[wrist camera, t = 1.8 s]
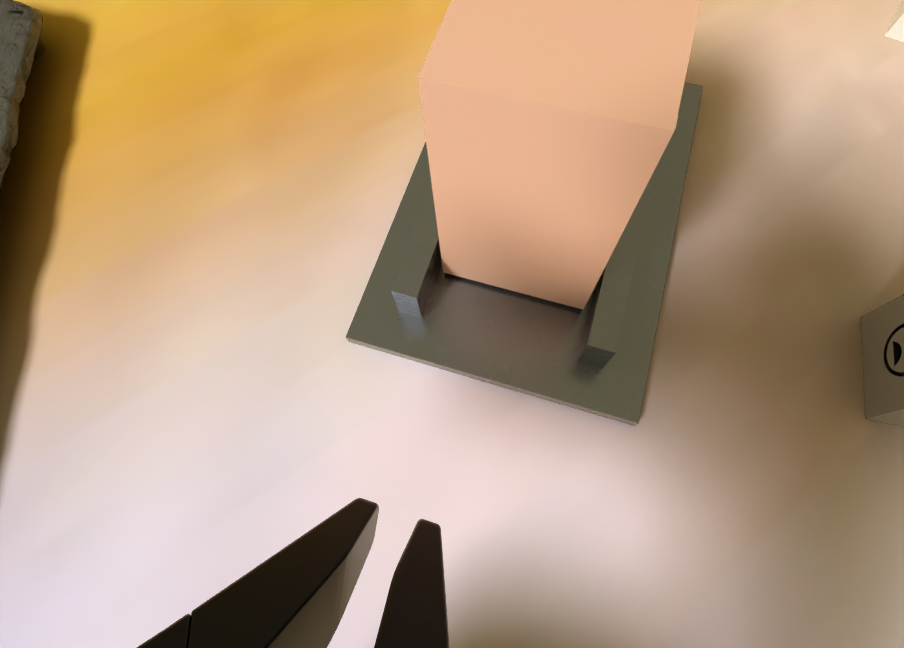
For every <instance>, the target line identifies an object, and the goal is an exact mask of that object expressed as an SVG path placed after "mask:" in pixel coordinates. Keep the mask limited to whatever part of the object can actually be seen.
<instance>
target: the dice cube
mask: <svg viewBox="0 0 904 648" xmlns="http://www.w3.org/2000/svg"><path fill="white" fill-rule="evenodd" d="M861 337H862V358H863V379H864V400H865V419H868V420H873V421H878V422H882V423H887V424H892V425H897V426H902V427H904V294H903V295H901V296H900V297H898V298H896V299H894V300H892V301H890V302H888V303H886V304H885V305H883V306H881V307H879V308H877V309H875V310H873V311H871V312H870V313H868V314H866V315H864V316H862V317H861Z"/></svg>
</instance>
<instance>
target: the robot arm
mask: <svg viewBox="0 0 904 648" xmlns="http://www.w3.org/2000/svg"><path fill="white" fill-rule="evenodd" d="M378 512H379V506H378V504H376V503H374V502H371V501H368V500H365V499H362V498H358V499H355V500H354V501H352V502H351V503H350V504H348V505H347V506H345V507H344V508H342V509H341V510H339V511H338V512H336V513H335V514H333V515H332V516H330V517H329V518H328V519H326V520H325V521H323V522H322V523H320V524H319V525H317V526H316V527H314V528H313V529H311V530H310V531H309V532H307V533H306V534H304V535H303V536H301V537H300V538H298V539H297V540H295V541H294V542H292V543H291V544H289V545H288V546H287V547H285V548H284V549H282V550H281V551H279V552H278V553H276V554H275V555H273V556H272V557H270V558H269V559H268V560H266V561H265V562H263V563H262V564H260V565H259V566H257V567H256V568H254V569H253V570H251V571H250V572H248V573H247V574H246V575H244V576H243V577H241V578H240V579H238V580H237V581H235V582H234V583H232V584H231V585H229V586H228V587H227V588H225V589H224V590H222V591H221V592H219V593H218V594H216V595H215V596H213V597H212V598H210V599H209V600H207V601H206V602H205V603H203V604H202V605H200V606H199V607H197V608H196V609H194V610H193V611H192V613H191V615H190V614H187V615H185V616H184V617H182V618H181V619H179V620H178V621H176V622H175V623H173V624H172V625H171V626H169V627H168V628H166V629H165V630H163V631H162V632H160V633H158V634H157V635H155V636H154V637H152V638H151V639H149V640H148V641H146V642H145V643H143V644H142V645H140V646H138V647H137V648H327V646H328V645H329V643H330V641H331V639H332V637H333V635H334V633H335V631H336V629H337V627H338V625H339V623H340V620H341V618H342V616H343V614H344V611H345V609H346V606H347V604H348V602H349V599H350V597H351V594H352V592H353V590H354V587H355V585H356V582H357V580H358V578H359V575H360V573H361V570H362V568H363V566H364V563H365V561H366V558H367V556H368V554H369V551H370V549H371V546H372V543H373V540H374V536H375V530H376V524H377V518H378ZM374 648H449V636H448V622H447V608H446V594H445V580H444V567H443V553H442V539H441V528H440V526H439V525H438V524H436V523H433V522H430V521H427V520H424V519H420V520H419V521H418V522H417V524H416V526H415V528H414V530H413V533H412V535H411V537H410V539H409V541H408V543H407V546H406V548H405V550H404V552H403V554H402V556H401V558H400V561H399V563H398V565H397V567H396V570H395V572H394V575H393V578H392V582H391V585H390V589H389V593H388V597H387V600H386V604H385V608H384V612H383V616H382V620H381V623H380V627H379V631H378V635H377V639H376V643H375V646H374Z"/></svg>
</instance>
